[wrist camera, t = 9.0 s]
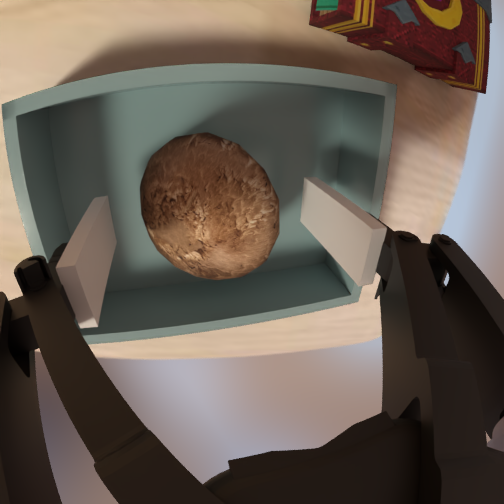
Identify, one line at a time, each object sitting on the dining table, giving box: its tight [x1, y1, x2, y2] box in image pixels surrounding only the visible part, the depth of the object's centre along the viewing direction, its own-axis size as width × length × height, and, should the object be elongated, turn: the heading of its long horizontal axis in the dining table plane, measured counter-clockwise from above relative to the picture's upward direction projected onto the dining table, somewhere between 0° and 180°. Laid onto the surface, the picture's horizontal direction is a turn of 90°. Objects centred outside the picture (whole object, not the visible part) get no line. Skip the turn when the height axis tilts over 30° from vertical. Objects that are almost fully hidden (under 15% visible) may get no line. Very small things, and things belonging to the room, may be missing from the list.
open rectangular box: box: [2, 63, 397, 344], centre depth 16 cm, size 20×15×5 cm
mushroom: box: [140, 132, 280, 280], centre depth 16 cm, size 8×8×6 cm
